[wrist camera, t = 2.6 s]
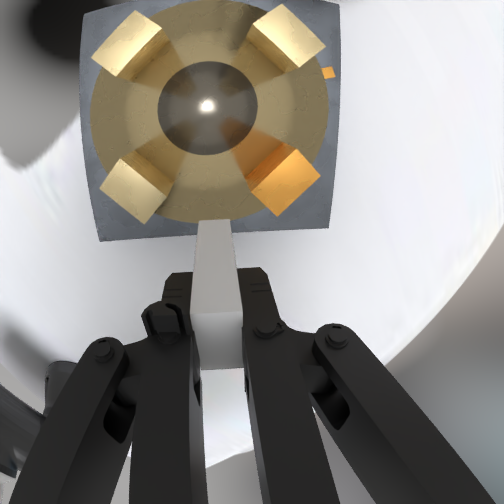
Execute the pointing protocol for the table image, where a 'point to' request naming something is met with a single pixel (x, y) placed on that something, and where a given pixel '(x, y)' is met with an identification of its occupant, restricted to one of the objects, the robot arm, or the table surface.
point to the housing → (293, 217)
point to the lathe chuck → (209, 111)
